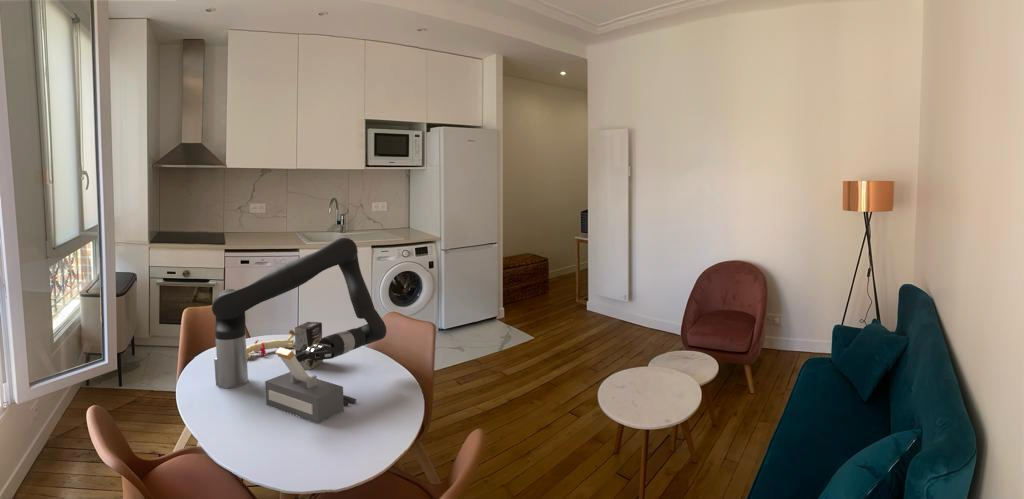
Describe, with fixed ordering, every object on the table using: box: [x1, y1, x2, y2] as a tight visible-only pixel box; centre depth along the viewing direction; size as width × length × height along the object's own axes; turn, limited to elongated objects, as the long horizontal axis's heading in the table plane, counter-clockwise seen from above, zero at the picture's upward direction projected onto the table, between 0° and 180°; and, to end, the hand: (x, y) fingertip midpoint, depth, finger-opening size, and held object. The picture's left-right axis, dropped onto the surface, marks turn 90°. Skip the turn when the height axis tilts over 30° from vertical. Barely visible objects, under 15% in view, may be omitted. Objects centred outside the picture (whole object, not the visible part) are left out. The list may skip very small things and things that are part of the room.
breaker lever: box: [275, 347, 310, 383], centre depth 161 cm, size 2×6×14 cm
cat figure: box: [246, 329, 295, 360], centre depth 213 cm, size 10×9×25 cm
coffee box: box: [294, 321, 324, 370], centre depth 201 cm, size 9×6×16 cm
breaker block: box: [264, 371, 357, 424], centre depth 167 cm, size 17×24×11 cm
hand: (294, 359), depth 160 cm, fingers closed
